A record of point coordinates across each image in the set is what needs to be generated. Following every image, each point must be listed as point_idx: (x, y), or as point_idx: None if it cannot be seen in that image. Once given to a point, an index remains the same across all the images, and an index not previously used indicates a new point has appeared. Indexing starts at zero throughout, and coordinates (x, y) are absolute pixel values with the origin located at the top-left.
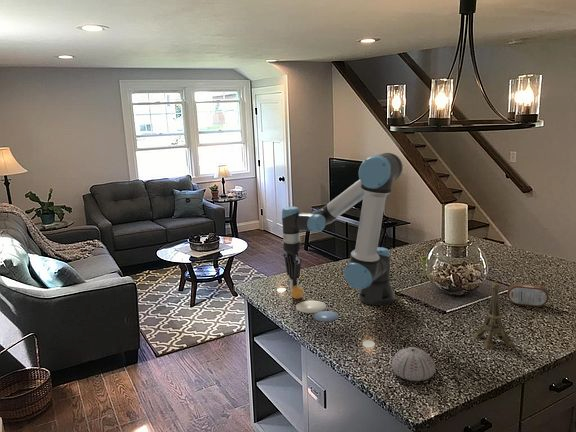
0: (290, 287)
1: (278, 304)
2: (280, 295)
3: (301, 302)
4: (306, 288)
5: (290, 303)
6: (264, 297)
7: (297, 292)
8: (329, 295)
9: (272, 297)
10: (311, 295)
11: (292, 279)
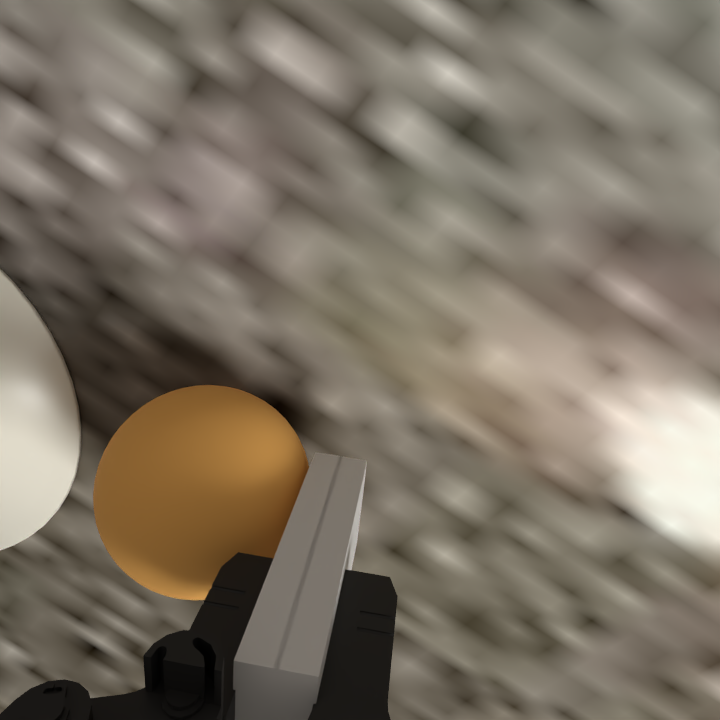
0: (350, 507)
1: (195, 68)
2: (518, 327)
3: (56, 383)
4: (461, 698)
5: (127, 254)
6: (678, 34)
7: (99, 463)
8: None
9: (550, 167)
10: None
11: (241, 669)
